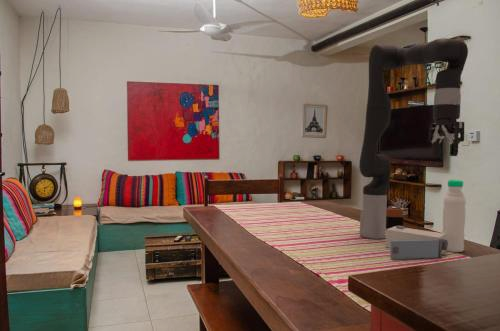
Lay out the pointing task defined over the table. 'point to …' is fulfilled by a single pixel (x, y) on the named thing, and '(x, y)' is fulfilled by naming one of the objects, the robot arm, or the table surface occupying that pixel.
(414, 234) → the housing
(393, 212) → the battery
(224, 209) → the table surface
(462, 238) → the water bottle
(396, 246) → the side door
